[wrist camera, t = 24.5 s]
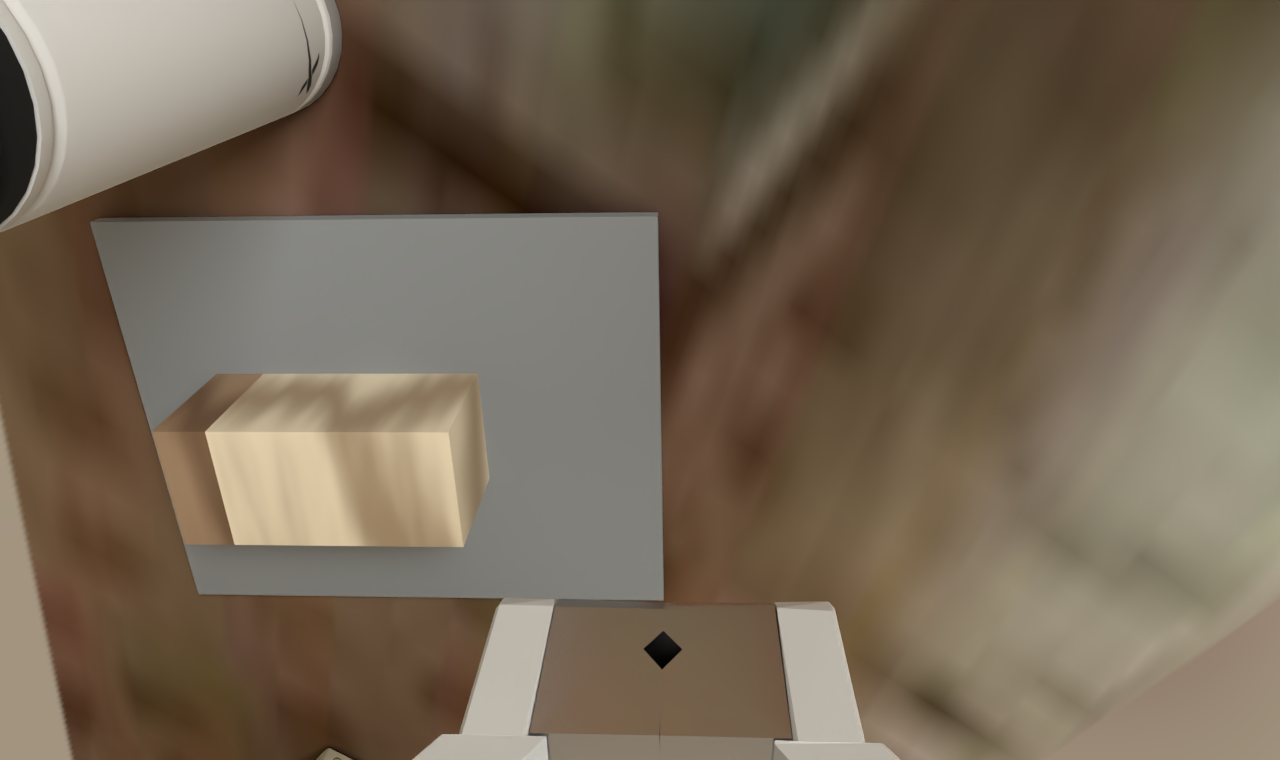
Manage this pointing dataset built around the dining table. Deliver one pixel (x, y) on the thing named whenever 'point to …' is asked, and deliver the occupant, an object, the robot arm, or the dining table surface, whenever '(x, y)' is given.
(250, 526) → the birch block
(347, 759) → the skincare box
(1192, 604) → the dining table surface
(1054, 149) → the dining table surface
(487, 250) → the grey mat
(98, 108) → the travel mug
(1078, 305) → the dining table surface
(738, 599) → the dining table surface
